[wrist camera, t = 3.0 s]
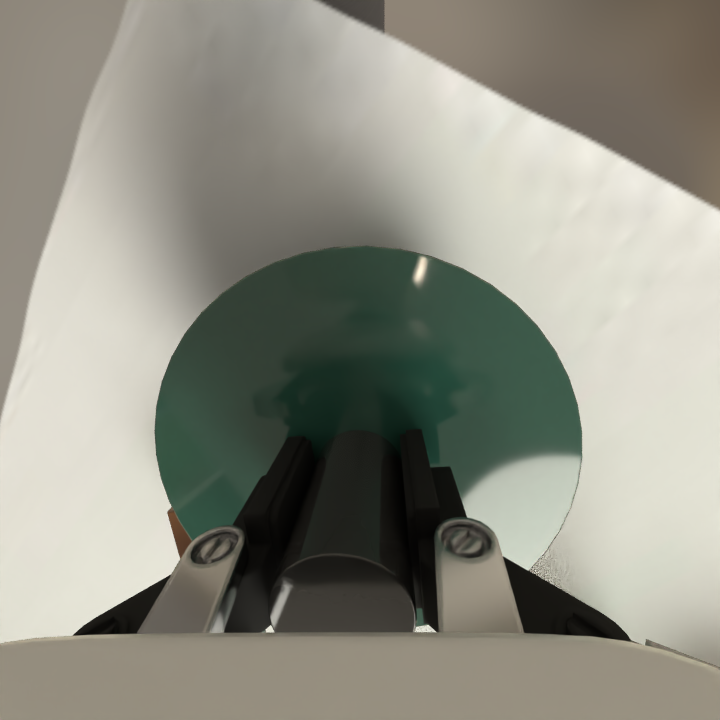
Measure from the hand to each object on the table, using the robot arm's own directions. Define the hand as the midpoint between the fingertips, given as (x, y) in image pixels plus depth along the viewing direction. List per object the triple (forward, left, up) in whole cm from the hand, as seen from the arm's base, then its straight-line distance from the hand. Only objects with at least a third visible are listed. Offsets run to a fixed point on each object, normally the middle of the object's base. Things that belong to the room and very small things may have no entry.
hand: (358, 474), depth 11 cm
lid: (0, 0, -1) cm, 1 cm away
